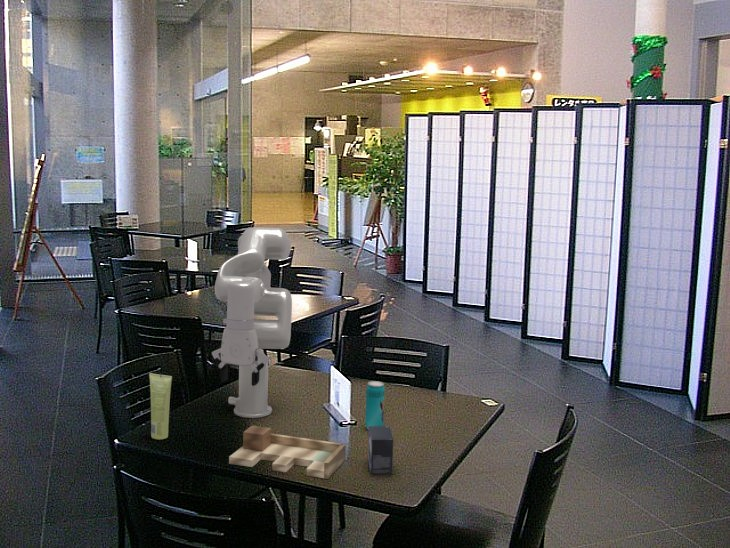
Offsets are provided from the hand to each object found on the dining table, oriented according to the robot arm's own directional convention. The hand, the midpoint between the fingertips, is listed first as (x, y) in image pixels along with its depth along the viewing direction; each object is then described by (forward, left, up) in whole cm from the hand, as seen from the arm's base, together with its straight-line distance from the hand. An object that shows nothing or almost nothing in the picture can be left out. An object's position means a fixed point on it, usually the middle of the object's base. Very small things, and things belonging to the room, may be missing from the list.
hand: (239, 382), depth 234 cm
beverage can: (+32, +33, -21) cm, 50 cm away
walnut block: (+6, 0, -18) cm, 19 cm away
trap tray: (+16, -3, -20) cm, 26 cm away
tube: (-26, +1, -21) cm, 33 cm away
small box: (+42, +3, -21) cm, 47 cm away
